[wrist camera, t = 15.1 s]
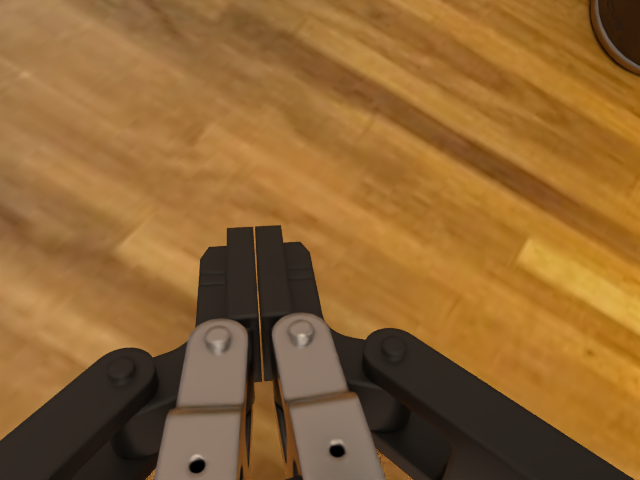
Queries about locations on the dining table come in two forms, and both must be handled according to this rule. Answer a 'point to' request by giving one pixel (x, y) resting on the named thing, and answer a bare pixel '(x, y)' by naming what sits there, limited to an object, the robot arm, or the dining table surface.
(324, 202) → the dining table surface
